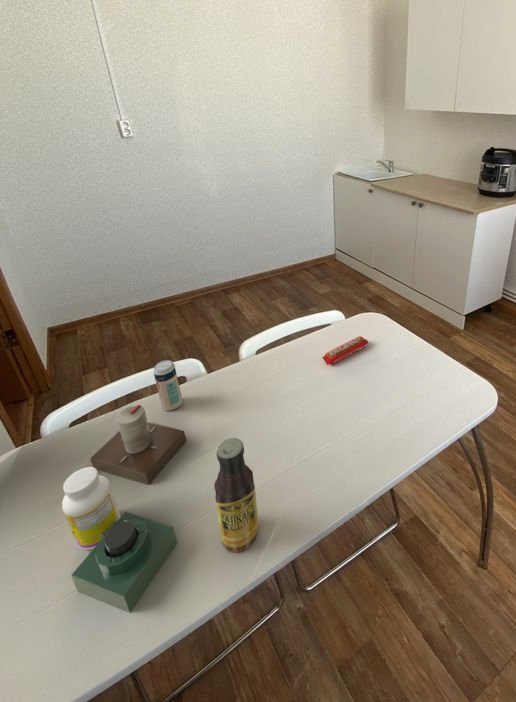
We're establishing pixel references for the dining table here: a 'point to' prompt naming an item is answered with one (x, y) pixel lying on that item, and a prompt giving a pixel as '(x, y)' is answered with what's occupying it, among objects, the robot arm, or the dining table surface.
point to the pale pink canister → (167, 385)
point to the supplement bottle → (89, 507)
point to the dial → (134, 429)
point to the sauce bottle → (235, 497)
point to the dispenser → (126, 564)
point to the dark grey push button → (120, 539)
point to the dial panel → (140, 455)
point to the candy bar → (344, 350)
